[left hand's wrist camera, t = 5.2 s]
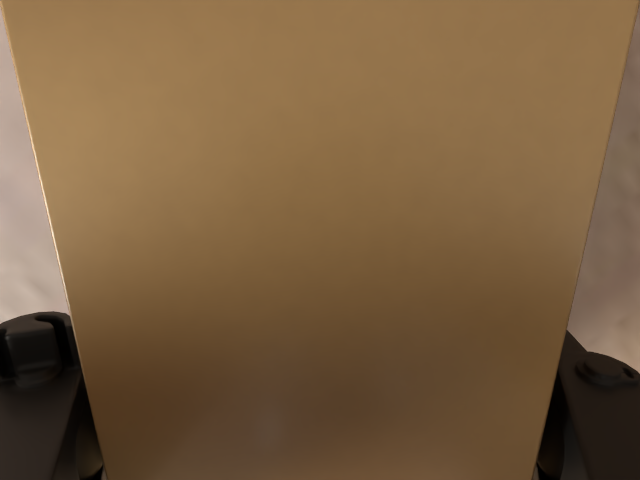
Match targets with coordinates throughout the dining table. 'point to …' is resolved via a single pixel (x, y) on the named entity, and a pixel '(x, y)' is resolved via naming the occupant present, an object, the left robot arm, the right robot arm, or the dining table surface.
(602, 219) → the dining table surface
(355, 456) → the bar
